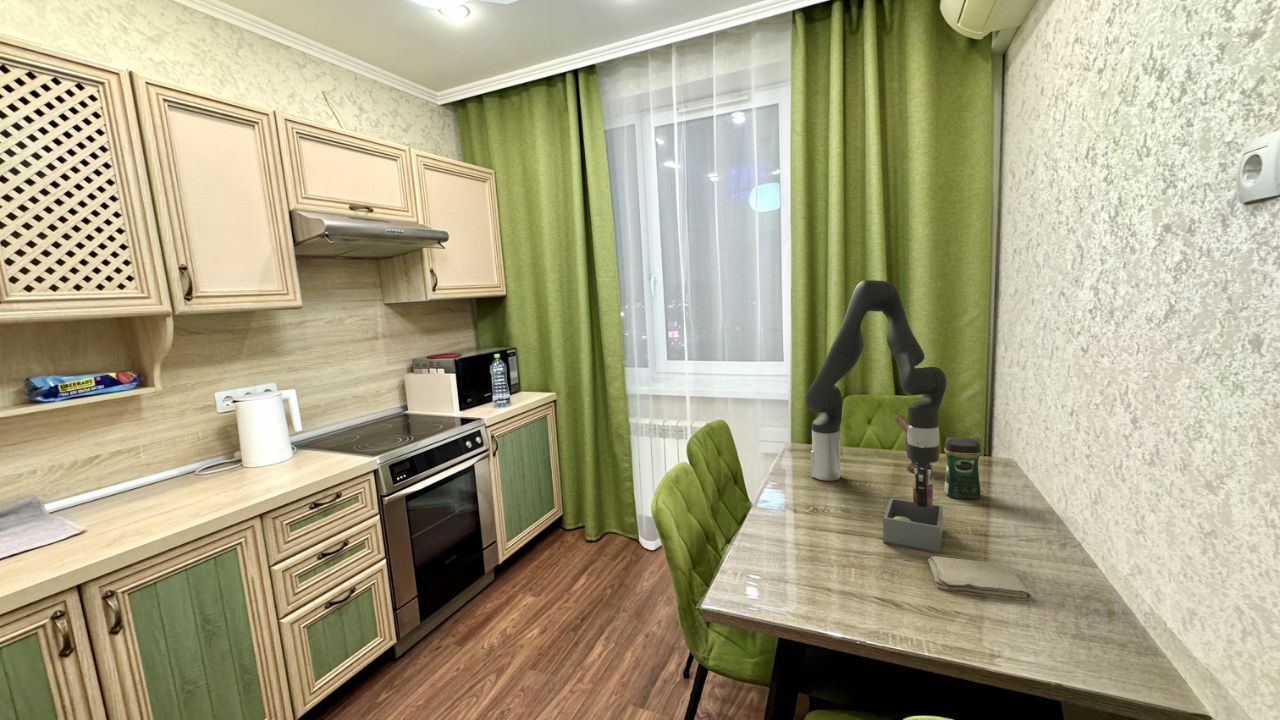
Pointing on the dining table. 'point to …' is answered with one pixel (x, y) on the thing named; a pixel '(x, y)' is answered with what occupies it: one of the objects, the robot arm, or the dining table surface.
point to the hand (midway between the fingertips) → (923, 502)
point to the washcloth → (978, 578)
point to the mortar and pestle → (904, 425)
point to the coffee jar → (962, 468)
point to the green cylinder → (902, 518)
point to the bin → (913, 526)
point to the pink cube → (929, 495)
